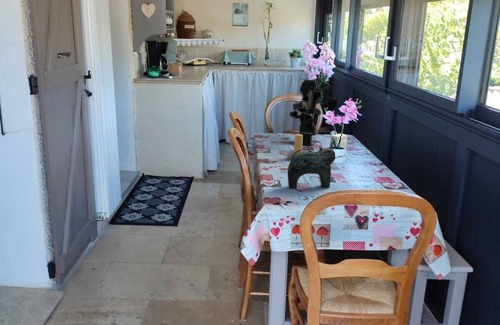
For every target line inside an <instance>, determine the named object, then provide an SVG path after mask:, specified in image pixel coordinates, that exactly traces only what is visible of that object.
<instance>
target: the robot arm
mask: <svg viewBox="0 0 500 325" xmlns="http://www.w3.org/2000/svg"><path fill="white" fill-rule="evenodd" d="M299 92H300V95H301V101H299V102H298V103H293V104H292V111H290V112H289V117H290V118H292V119H296V120H299V121H300V124H299V131H298V132H299V135H303V140H302V146H306V147H310V146H314V145H313V143H314V142H312V141H313V137H314V136H316V134H317V130H316V125H315V121H314V117H315V116H317V117H320V116H321V115H322V114H321V113H322V111H321V109H319V108H317V105H318V104H320V103H321V100H322V98H323V88H321V86H320V83H319V82H317V81H316V79H303V81H302V82H301V85H300V88H299Z"/></svg>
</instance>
